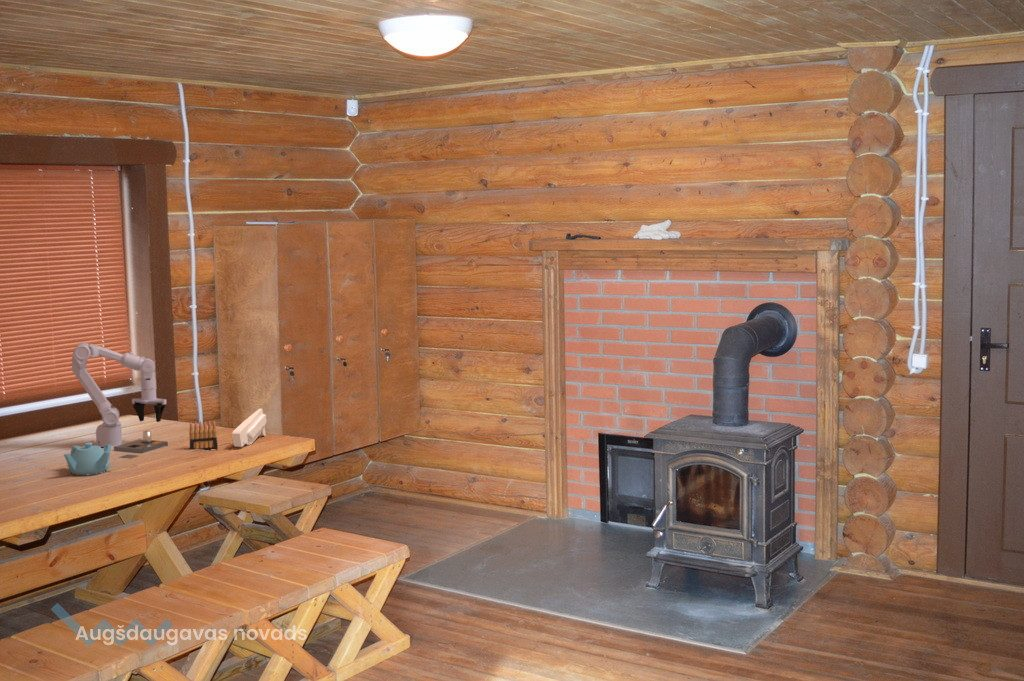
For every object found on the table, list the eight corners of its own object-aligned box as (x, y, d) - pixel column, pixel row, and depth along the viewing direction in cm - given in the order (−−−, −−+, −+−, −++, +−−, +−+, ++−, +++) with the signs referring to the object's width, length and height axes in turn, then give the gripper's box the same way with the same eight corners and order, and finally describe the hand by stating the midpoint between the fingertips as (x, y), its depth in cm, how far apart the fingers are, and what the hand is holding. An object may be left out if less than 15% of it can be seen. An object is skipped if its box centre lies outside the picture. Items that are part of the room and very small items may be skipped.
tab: (118, 459, 404) (118, 457, 404) (127, 457, 409) (127, 454, 409) (131, 461, 402) (131, 458, 402) (140, 458, 407) (139, 455, 407)
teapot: (114, 465, 396) (113, 437, 394) (110, 475, 381) (108, 445, 380) (71, 468, 392) (69, 440, 390) (65, 478, 377) (63, 448, 376)
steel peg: (141, 448, 423) (141, 431, 422) (146, 447, 426) (145, 430, 425) (148, 449, 422) (148, 432, 421) (153, 447, 425) (152, 430, 425)
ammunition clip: (217, 448, 423) (216, 419, 421) (217, 449, 421) (216, 420, 420) (189, 451, 419) (188, 421, 417) (190, 452, 417) (188, 422, 416)
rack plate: (114, 452, 416) (113, 446, 416) (139, 445, 430) (139, 438, 430) (142, 455, 411) (142, 449, 411) (167, 447, 425) (167, 441, 425)
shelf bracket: (270, 436, 446) (266, 408, 442) (246, 461, 423) (242, 432, 419) (258, 435, 447) (254, 408, 443) (233, 460, 424) (229, 432, 420)
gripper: (127, 389, 428) (128, 422, 429) (159, 390, 424) (161, 423, 426) (136, 386, 434) (138, 419, 436) (168, 387, 431) (170, 420, 433)
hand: (150, 421), depth 432 cm, fingers open, 7 cm apart
